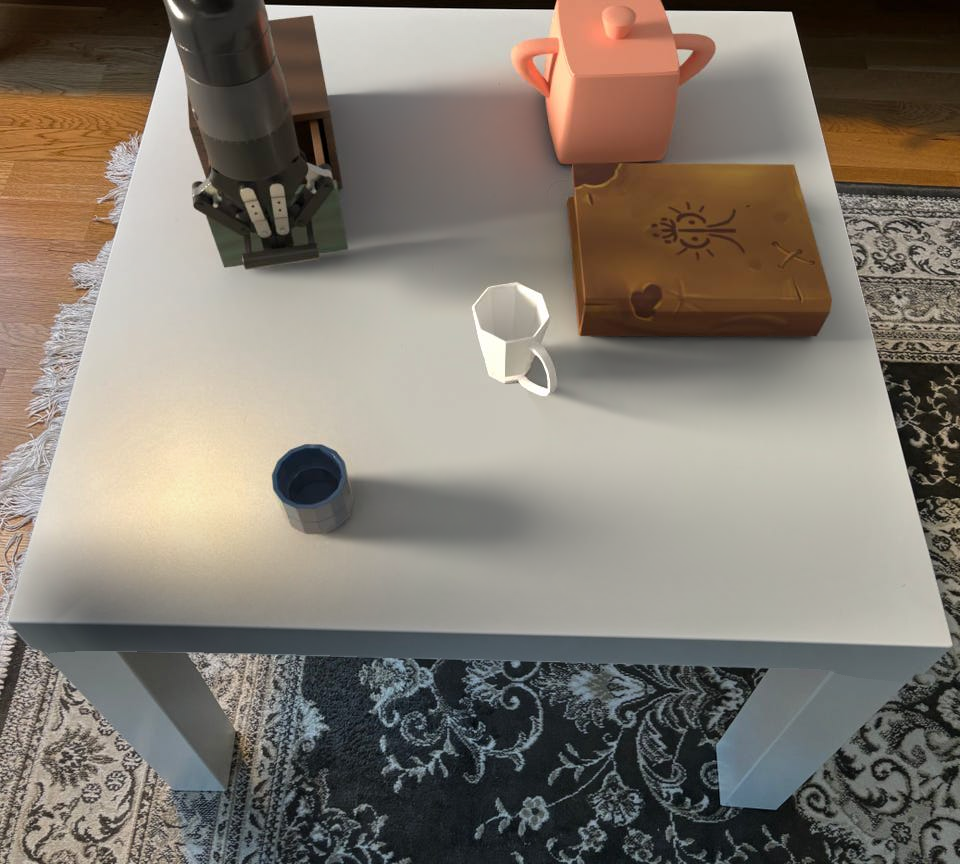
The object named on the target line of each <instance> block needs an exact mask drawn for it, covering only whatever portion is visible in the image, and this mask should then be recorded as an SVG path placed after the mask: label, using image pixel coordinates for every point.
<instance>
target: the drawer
mask: <svg viewBox="0 0 960 864" xmlns="http://www.w3.org/2000/svg"><path fill="white" fill-rule="evenodd" d="M293 123H294V128H295V133H296V137H297V142H298V147H299V149H300V150H301V151H302V152H303V153H304V154H305V155H306V157H307V163H310V164H312V165H315V166H317V167H318V166H319V165H320V164H324V163H325V158H324V152H323V146H322V141H321V135H320V130H319V124H318V119H314V120H306V121H299V122H293ZM209 165H210V161H209ZM333 183H334V189H333V191H332V192H331V193H330V195H329V196H328V197H327V199H326V200H325V201H324V203H323V204H322V205H321V207H320V208H319V209H318V211H317V212H316V213H315V215H314V216H313V217H312V219H311V220H310V221H309V223H308V224H307V225H306V226H305V227H297V226H295V227H293V228H292V229H291V232H292V236H293V240H294V246H291V247H284V248H278V249H271V250H264V248H263V245H262V241H261V238H260V236H259V235H258V234H256V233H251V232H250V234H249V235H247V236H241V235H239V234H237V233H235V232H234V231H232V230H230V229H229V228H227V227H225V226H223V225H222V224H220V223H218V222H217V221H215V220H213V219H212V218H210V217H208V216H206V215H205V218H206V220H207V223H208V227H209V228H210V232H211V234H212V235H211V236H212V237H213V240H214V243H215V246H216V249H217V251H218V255H219V257H220V260H221V263H222V266H223V268H233V267H241V266H243V268H244V269H245V270H253V269H259V268H261V269H262V268H267V267H273V266H280V265H281V266H282V265H287V264H294V263H301V262H307V261H314V260H320V254H326V253H333V252H342V251H347V250H349V247H348V240H347V235H346V229H345V223H344V218H343V212H342V206H341V205H342V204H341V200H340V193H339V188H337V182H336V180H333ZM305 184H306V182H305V179H304V180H303V182H302V183H301V185H300V186H299V188H298V189H297V191H296V192H295V194H294V195H293V197H292V198H291V199H290V200H289V201H287V202H286V207H289V206H292V202H293V201H294V199H295V198H296V197H297V195H298V194H299V192H300V191H301V190H302V188H303V187H304V185H305ZM222 194H223V193H222ZM223 195H224V194H223ZM225 196H226V195H225ZM226 197H227V196H226ZM228 198H229V197H228ZM229 199H230V198H229ZM231 200H232V199H231ZM234 202H235V201H234ZM242 207H244V206H242ZM266 207H267V210H268V213H269V216H270V219H271V220H272V219H273V222H274V213H273V207H272V206H266ZM244 208H246V207H244ZM246 209H247V208H246Z"/></svg>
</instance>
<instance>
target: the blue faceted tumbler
mask: <svg viewBox="0 0 960 864" xmlns="http://www.w3.org/2000/svg"><path fill="white" fill-rule="evenodd" d="M271 482H272V483H271V484H272V491H273V493H274V495H275V497H276V500H277V502H278V504H279V507H280V510H281V512H282V514H283V517H284V518H285V519H286V521H287V523H288V524H289V525H290V527H292V528H293V529H294V530H297V531H299V532H301V533H303V534H306V535H325V534H326V533H329V532H331V531H332V532H333V531H335V530H337V529H338V528H339V527H340V526H341V525H342V524H343V523H344V522H345V521H346V520H347V519H348V518H349V517H350V515H351V511H352V508H353V506H354V497H353V489H352V486H351V482H350V478H349V474H348V469H347V465H346V462H345V461H344V459H343V458H342V457H341V455H340V454H339V453H338V452H337V451H336V450H335V449H333V448H330V447H329V446H326V445H325V444H322V443H321V444H320V443H319V444H318V443H305V444H302V445H299V446H296V447H293V448H291V449H289V450H288V451H287V452H286V453H284V454H283V455H282V456H281V457H280V458H279V459H278V460H277V461H276V464H275V467H274V468H273V471H272V473H271Z"/></svg>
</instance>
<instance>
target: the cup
mask: <svg viewBox="0 0 960 864" xmlns="http://www.w3.org/2000/svg"><path fill="white" fill-rule="evenodd" d="M471 309H472V314H473V318H474V322H475V328H476V331H477V337H478V341H479V345H480V348H481V351H482V355H483V358H484V361H485V365H486V368H487V372H488V375H489V377H491V378H493V379H495V380H496V381H499V382H500V383H503V384H505V385H506V384H510V383H515V382H518V383H519V384H520V386H522V387H523V388H524V389H526V390H527V391H529V392H531V393H534V394H536V395H539V396H541V397H542V396H543V397H547V396H549V395H551V394H552V393H553V392H554V391H555V390H556V389H557V385H558V384H557V381H558V379H557V371H556V368H555V366H554V363H553V362H554V361H553V359H552V357H551V356H550V354H549V353H548V351H546V349H545V348H544V347H543V346H542V342H543V340H544V337H545V334H546V332H547V329H548V326H549V324H550V321H551V318H552V316H551V313H550V311H549V309H548V305H547V302H546V299H545V297H544V294H543V293H541V292H539V291H537V290H534V289H533V288H530V287H528V286H527V285H524V284H522V283H520V282H519V281H515V282H509V283H503V284H497V285H492V286H487V288H485V290H484V291H483V292H482V294H481V295H480V296H479V297H478V298H477V300H476V301H475V303H473V305H472V306H471ZM536 356H537V358H539V360H540V361H541V363H542V365H543V368H544V371H545V373H546V378H547V388H546V387H543V386H540V385H537V384H536V383H534V382H533V381H530V380H529V379H528V377H526V376H527V374H528V373H529V371H530V370H531V368H532V362H533V361H534V359H535V358H536Z"/></svg>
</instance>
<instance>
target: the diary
mask: <svg viewBox="0 0 960 864" xmlns="http://www.w3.org/2000/svg"><path fill="white" fill-rule="evenodd" d="M571 177H572V186H573V187H572V188H573V189H572V190H573V196H567V201H566V205H567V217H568V218H567V219H568V228H569V241H570V252H571V263H572V276H573V285H574V297H575V298H574V299H575V311H576V320H577V332H578V336H579V337H818V335H819V333H820V331H821V330H822V328H823V326H824V324H825V322H826V320H827V319H828V317H829V316H830V314H831V310H832V302H833V301H832V300H833V297H832V294H831V291H830V286H829V283H828V280H827V277H826V272H825V269H824V265H823V262H822V258H821V255H820V251H819V247H818V244H817V241H816V237H815V233H814V229H813V226H812V222H811V219H810V216H809V212H808V208H807V205H806V201H805V198H804V194H803V190H802V188H801V184H800V180H799V176H798V172H797V169H796V166H795V164H793V163H791V164H790V163H789V164H788V163H787V164H785V163H783V164H782V163H778V164H776V163H775V164H774V163H772V164H771V163H770V164H769V163H641V162H623V163H573V164H571Z"/></svg>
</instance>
